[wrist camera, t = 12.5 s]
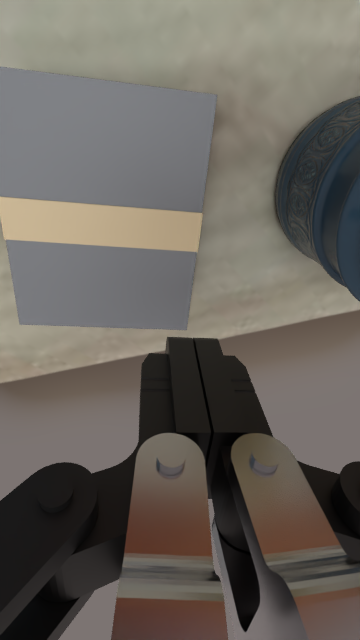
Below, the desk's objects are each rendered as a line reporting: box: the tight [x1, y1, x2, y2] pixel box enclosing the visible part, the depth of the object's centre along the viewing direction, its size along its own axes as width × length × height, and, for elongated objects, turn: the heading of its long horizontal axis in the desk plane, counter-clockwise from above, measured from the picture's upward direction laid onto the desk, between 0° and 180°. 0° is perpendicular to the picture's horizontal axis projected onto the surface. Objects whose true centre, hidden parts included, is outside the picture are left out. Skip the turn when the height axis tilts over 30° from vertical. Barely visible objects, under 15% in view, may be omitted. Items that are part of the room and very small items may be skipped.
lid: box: [0, 67, 217, 330], centre depth 22 cm, size 12×15×1 cm
